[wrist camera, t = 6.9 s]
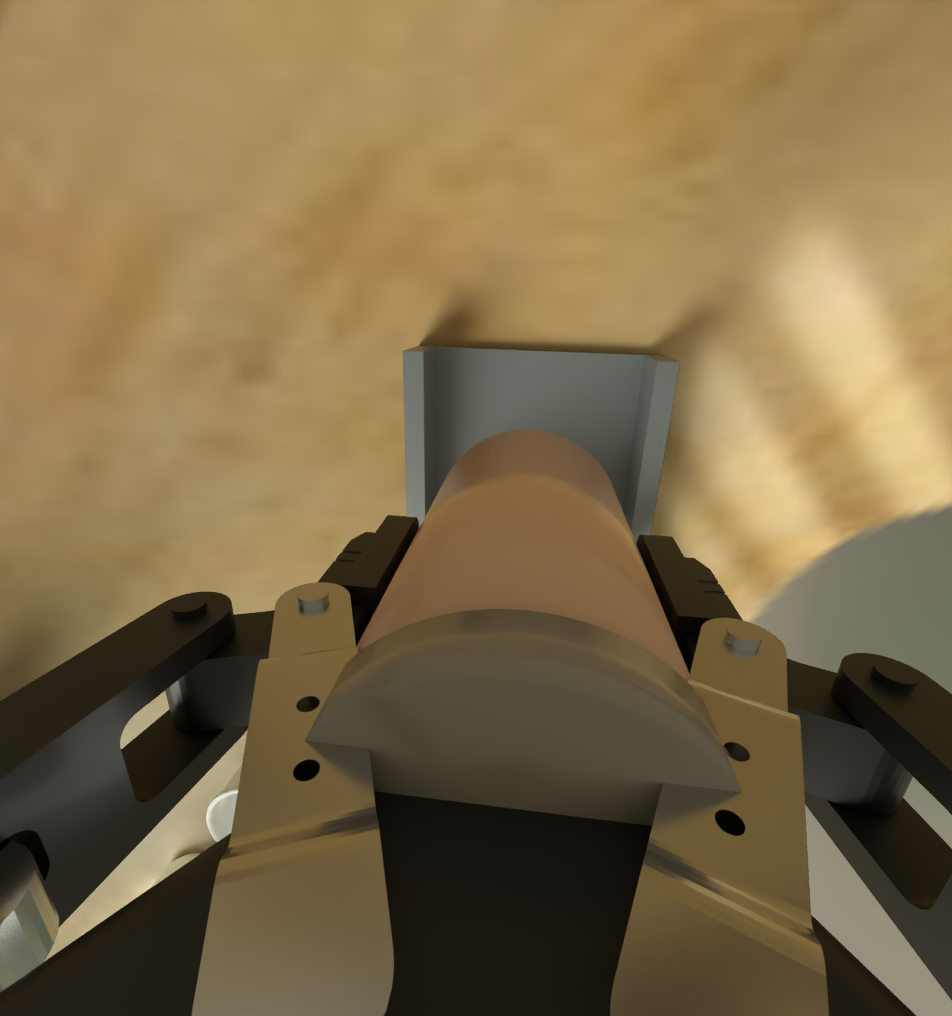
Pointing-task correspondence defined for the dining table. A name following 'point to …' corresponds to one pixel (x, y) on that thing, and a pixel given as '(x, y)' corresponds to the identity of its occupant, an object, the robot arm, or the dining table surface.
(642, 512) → the lane
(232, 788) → the ramekin
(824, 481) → the dining table surface
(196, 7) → the dining table surface
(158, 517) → the dining table surface
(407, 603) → the jar
